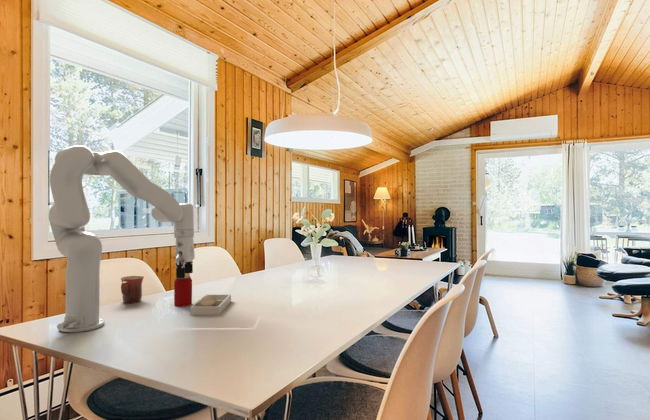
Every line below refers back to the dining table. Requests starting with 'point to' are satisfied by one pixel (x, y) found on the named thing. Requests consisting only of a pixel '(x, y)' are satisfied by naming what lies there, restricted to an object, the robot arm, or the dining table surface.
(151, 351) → the dining table surface
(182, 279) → the beverage can
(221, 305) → the carton
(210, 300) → the wooden egg
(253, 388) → the dining table surface
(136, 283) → the mug
